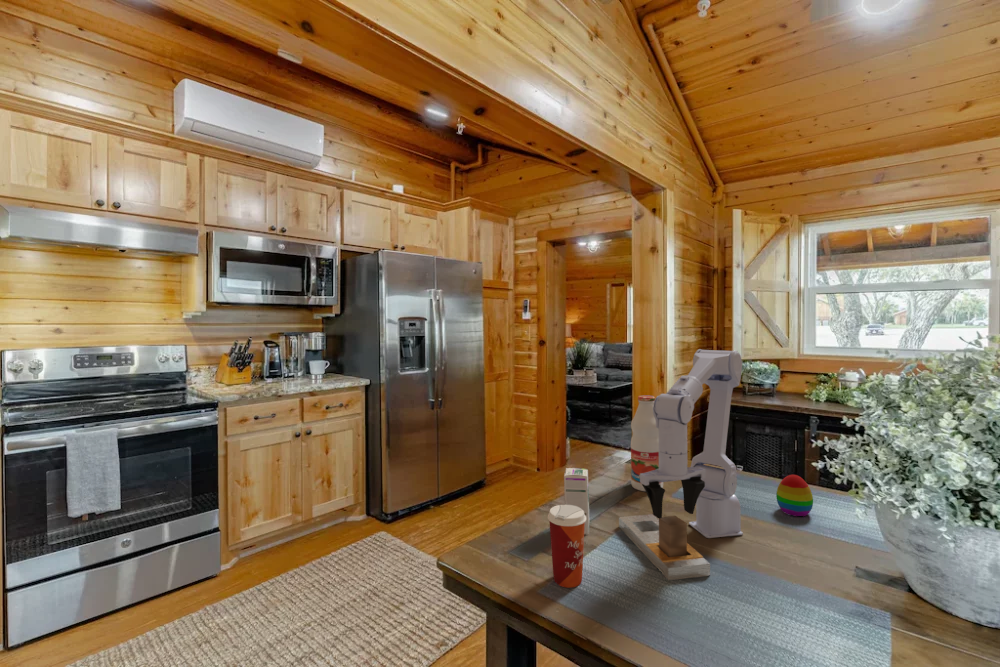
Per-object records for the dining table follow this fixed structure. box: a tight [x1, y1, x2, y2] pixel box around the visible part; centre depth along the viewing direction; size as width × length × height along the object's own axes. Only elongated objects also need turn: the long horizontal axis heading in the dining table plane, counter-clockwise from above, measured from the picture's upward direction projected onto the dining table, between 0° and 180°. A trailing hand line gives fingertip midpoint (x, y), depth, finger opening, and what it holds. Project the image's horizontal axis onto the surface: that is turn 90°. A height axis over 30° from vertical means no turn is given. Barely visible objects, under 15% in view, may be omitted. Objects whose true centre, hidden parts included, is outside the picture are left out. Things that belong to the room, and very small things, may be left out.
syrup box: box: [563, 467, 590, 536], centre depth 115 cm, size 6×6×14 cm
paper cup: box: [547, 504, 586, 589], centre depth 93 cm, size 8×8×14 cm
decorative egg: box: [775, 474, 814, 517], centre depth 122 cm, size 8×8×10 cm
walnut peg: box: [658, 515, 688, 557], centre depth 99 cm, size 4×4×9 cm
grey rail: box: [618, 513, 711, 581], centre depth 104 cm, size 9×24×3 cm, turn 9°
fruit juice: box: [630, 394, 664, 492], centre depth 142 cm, size 9×9×28 cm
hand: (673, 514), depth 98 cm, fingers open, 7 cm apart
